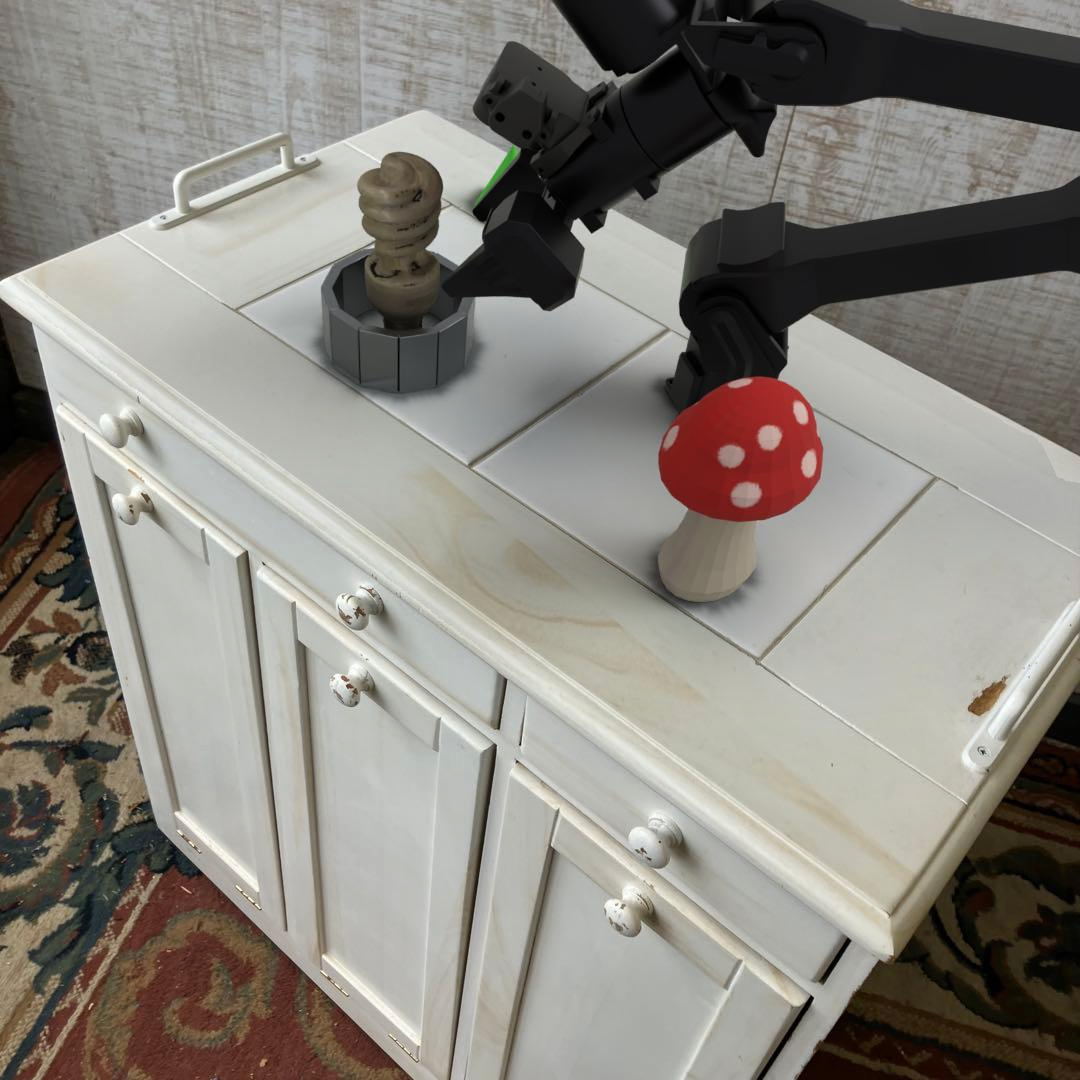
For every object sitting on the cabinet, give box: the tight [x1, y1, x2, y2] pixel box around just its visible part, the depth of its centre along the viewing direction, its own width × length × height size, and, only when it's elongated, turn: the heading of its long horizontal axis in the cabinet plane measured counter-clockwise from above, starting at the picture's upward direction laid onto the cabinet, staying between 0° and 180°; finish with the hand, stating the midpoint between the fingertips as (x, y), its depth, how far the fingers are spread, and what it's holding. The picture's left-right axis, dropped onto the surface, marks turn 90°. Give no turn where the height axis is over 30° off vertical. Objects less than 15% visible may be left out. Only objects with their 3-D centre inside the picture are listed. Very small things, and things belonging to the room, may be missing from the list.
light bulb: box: [356, 151, 444, 331], centre depth 75 cm, size 6×6×15 cm
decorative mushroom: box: [657, 377, 824, 603], centre depth 64 cm, size 10×9×15 cm
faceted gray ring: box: [320, 247, 476, 394], centre depth 79 cm, size 11×11×5 cm
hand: (461, 252), depth 74 cm, fingers open, 9 cm apart
